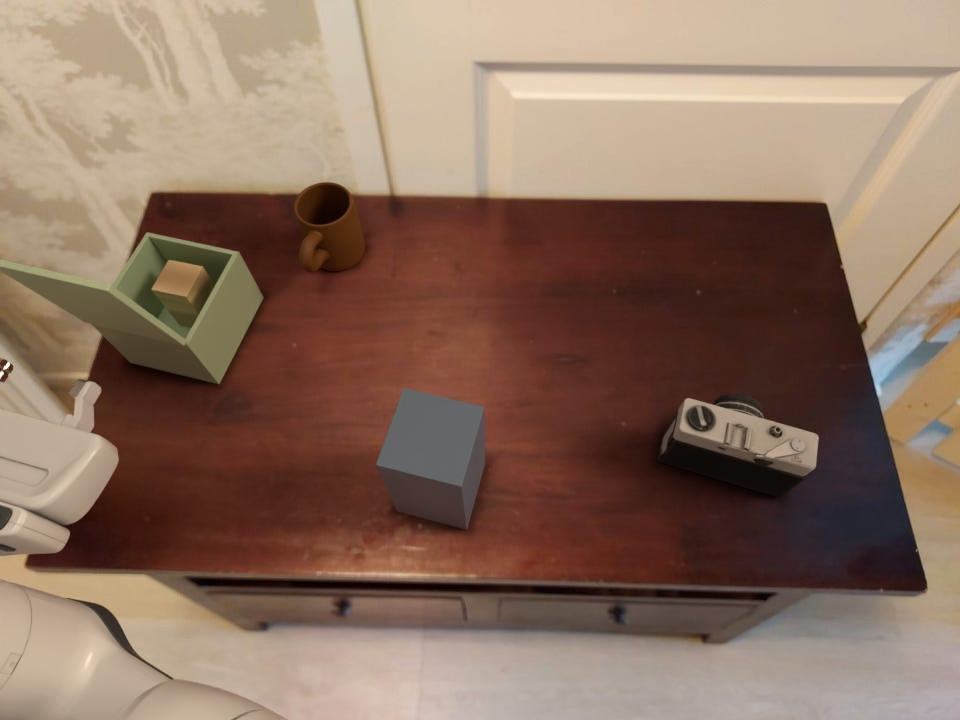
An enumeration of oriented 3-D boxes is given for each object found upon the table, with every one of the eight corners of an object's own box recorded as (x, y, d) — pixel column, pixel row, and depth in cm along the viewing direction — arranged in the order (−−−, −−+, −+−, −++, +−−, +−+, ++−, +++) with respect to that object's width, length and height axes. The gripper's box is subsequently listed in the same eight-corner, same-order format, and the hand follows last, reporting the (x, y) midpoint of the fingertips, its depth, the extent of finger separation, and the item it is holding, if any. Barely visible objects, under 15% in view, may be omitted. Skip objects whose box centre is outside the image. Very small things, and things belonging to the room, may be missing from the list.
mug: (345, 305, 85) (330, 260, 77) (290, 294, 86) (269, 249, 78) (373, 234, 90) (361, 185, 82) (321, 225, 91) (305, 176, 83)
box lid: (-9, 257, 59) (-13, 263, 59) (110, 284, 58) (107, 291, 57) (87, 316, 73) (84, 322, 72) (187, 340, 71) (184, 346, 71)
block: (211, 332, 82) (186, 296, 75) (179, 325, 83) (150, 289, 76) (226, 303, 85) (203, 266, 78) (195, 297, 85) (168, 259, 78)
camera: (795, 441, 75) (835, 407, 66) (775, 513, 71) (813, 487, 62) (678, 394, 78) (700, 356, 69) (652, 460, 74) (672, 429, 65)
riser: (467, 530, 71) (461, 486, 57) (396, 511, 72) (375, 464, 59) (485, 461, 74) (484, 406, 61) (418, 445, 75) (403, 387, 62)
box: (179, 278, 87) (146, 231, 79) (263, 297, 86) (239, 251, 77) (130, 362, 81) (88, 321, 73) (219, 384, 80) (187, 345, 71)
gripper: (-123, 494, 58) (-27, 362, 64) (79, 556, 55) (159, 411, 62) (-188, 471, 53) (-75, 329, 59) (33, 537, 50) (126, 380, 56)
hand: (46, 371), depth 60 cm, fingers open, 8 cm apart
